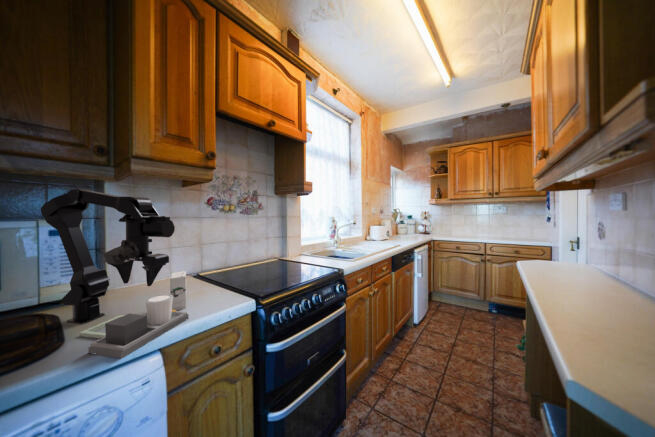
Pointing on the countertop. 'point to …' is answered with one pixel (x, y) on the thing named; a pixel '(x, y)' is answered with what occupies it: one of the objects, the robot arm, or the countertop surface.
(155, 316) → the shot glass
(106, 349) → the grey divided tray
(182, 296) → the ink box
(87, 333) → the tray rim
